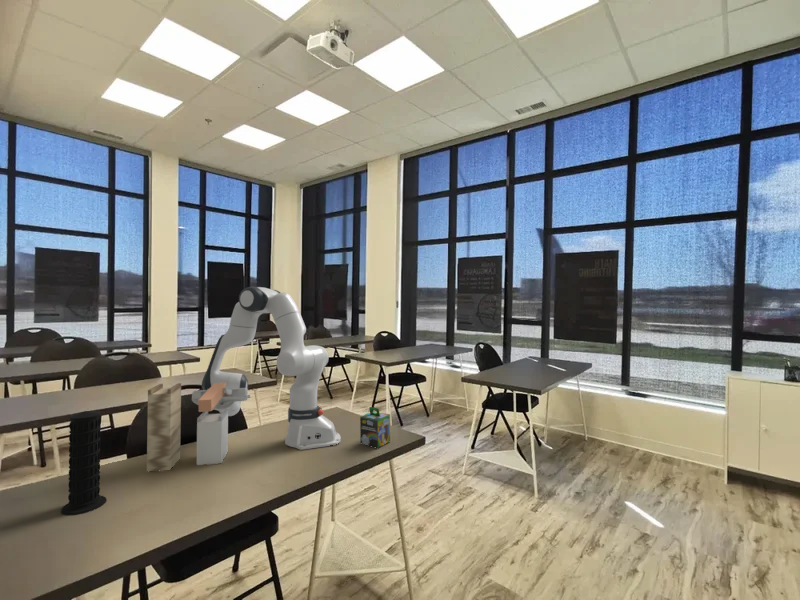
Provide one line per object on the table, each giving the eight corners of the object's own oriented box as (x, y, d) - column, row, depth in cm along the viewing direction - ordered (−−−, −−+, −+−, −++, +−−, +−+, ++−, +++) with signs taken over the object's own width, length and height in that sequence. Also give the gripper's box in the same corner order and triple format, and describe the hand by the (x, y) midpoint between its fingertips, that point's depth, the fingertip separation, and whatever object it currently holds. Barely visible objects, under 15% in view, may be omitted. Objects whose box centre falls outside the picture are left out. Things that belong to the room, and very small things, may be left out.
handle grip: (50, 514, 104) (87, 515, 104) (51, 416, 104) (88, 416, 104) (81, 496, 114) (115, 496, 114) (82, 405, 114) (116, 406, 114)
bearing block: (180, 458, 141) (181, 383, 141) (169, 470, 131) (170, 389, 132) (158, 460, 140) (159, 383, 140) (146, 472, 130) (147, 390, 130)
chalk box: (390, 442, 160) (391, 406, 160) (377, 449, 153) (378, 411, 153) (372, 437, 165) (373, 402, 165) (359, 444, 158) (359, 407, 158)
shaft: (225, 392, 153) (225, 382, 153) (211, 411, 132) (211, 399, 132) (214, 393, 152) (214, 382, 152) (198, 411, 131) (198, 400, 131)
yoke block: (227, 452, 147) (228, 409, 147) (221, 463, 138) (221, 416, 138) (204, 454, 146) (205, 410, 146) (196, 465, 136) (197, 418, 136)
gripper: (250, 405, 160) (245, 396, 148) (196, 408, 156) (186, 400, 144) (251, 390, 163) (246, 380, 151) (198, 393, 159) (189, 383, 147)
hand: (216, 390), depth 147 cm, fingers closed on shaft, 4 cm apart
